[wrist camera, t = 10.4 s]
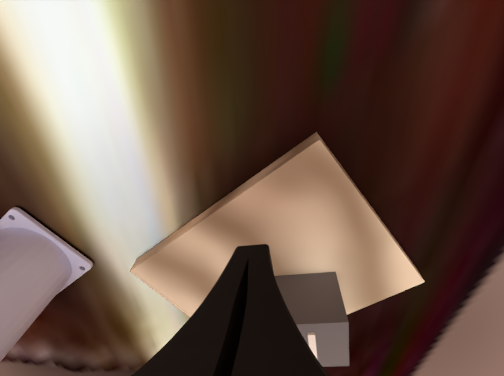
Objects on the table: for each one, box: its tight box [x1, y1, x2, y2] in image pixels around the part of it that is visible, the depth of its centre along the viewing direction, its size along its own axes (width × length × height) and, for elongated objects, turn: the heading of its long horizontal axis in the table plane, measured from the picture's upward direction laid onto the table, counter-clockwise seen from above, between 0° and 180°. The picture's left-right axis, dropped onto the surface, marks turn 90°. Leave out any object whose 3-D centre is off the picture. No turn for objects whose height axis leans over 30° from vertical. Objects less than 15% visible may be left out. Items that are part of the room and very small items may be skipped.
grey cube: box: [274, 272, 349, 367], centre depth 22 cm, size 5×5×5 cm
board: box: [130, 132, 424, 317], centre depth 24 cm, size 19×15×2 cm
